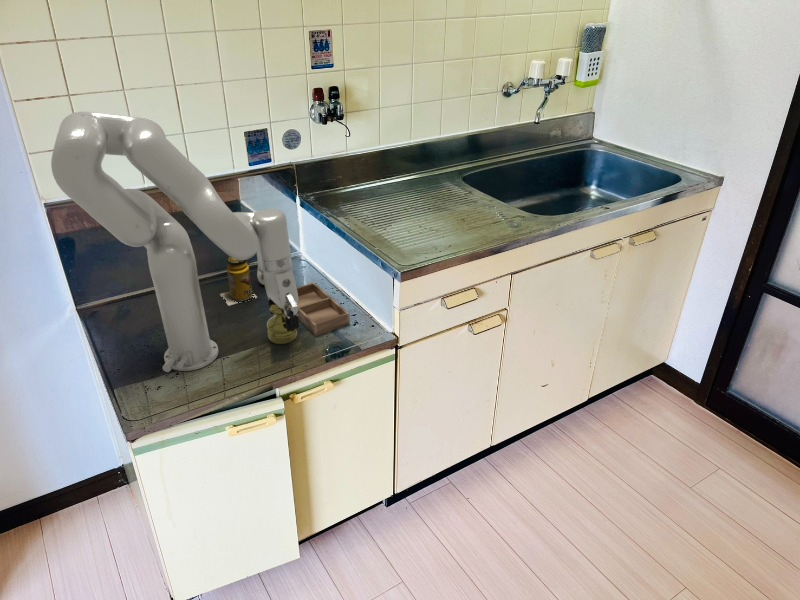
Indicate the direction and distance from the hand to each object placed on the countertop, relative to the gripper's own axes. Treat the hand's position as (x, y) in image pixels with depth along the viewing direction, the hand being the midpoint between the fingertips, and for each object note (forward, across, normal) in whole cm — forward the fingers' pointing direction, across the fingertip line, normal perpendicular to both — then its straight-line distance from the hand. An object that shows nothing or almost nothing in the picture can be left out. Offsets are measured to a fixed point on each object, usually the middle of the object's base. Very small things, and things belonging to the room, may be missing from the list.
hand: (284, 320), depth 152 cm
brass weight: (+5, 0, +1) cm, 5 cm away
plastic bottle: (+5, +28, -8) cm, 29 cm away
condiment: (+5, +26, +3) cm, 26 cm away
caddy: (+5, +5, -11) cm, 13 cm away
